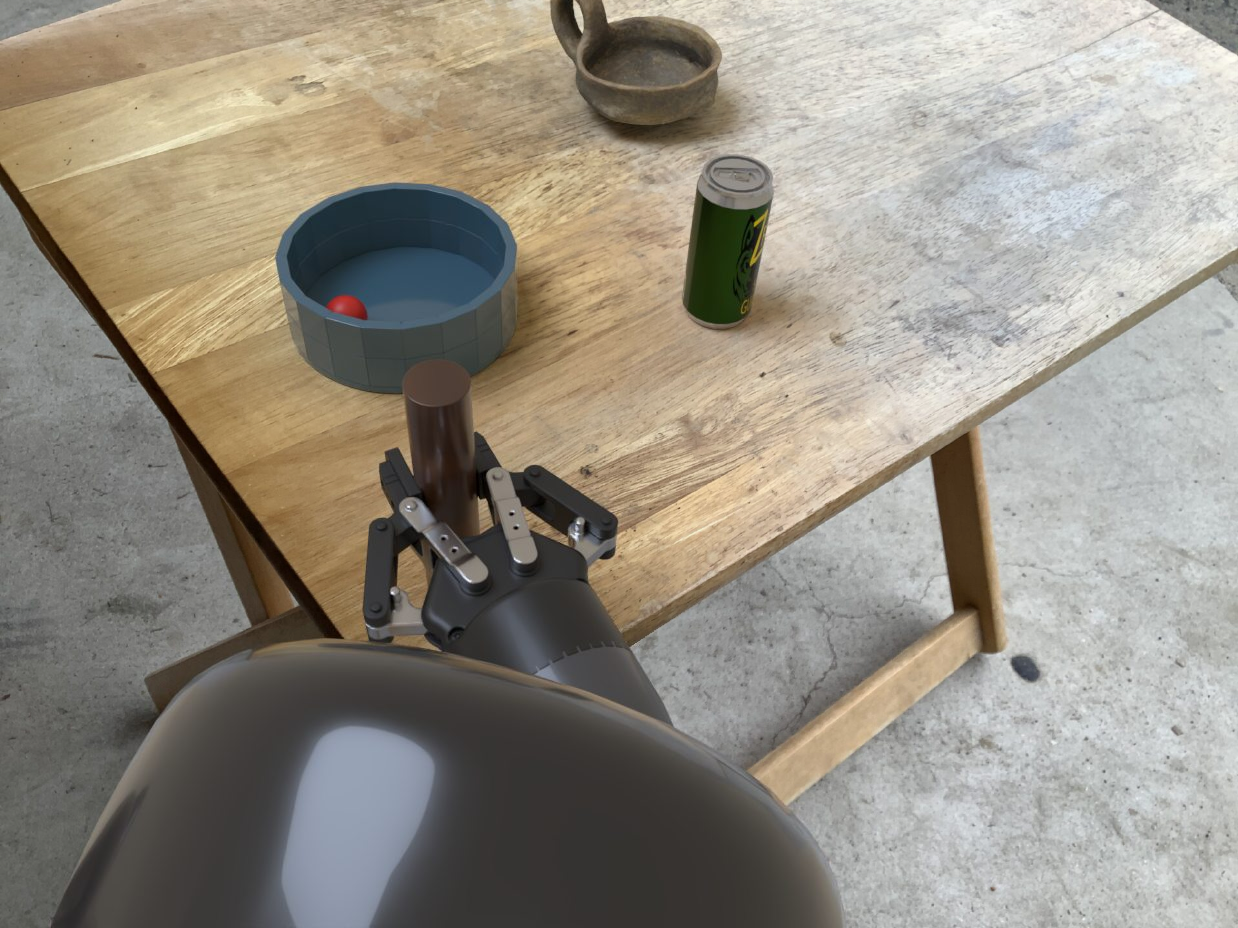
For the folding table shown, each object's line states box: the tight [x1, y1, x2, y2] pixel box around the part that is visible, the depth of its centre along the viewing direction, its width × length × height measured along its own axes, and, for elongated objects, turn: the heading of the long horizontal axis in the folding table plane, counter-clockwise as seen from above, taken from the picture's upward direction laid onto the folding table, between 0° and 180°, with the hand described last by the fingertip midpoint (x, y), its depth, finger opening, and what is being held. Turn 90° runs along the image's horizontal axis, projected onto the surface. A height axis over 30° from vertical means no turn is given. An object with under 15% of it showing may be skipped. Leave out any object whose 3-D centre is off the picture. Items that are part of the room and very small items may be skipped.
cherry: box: [326, 295, 368, 320], centre depth 78 cm, size 3×3×3 cm
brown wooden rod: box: [402, 360, 481, 588], centre depth 58 cm, size 3×3×18 cm
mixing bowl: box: [274, 181, 519, 395], centre depth 79 cm, size 17×17×6 cm
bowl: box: [549, 0, 723, 126], centre depth 99 cm, size 14×18×10 cm
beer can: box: [681, 153, 775, 330], centre depth 79 cm, size 5×5×12 cm
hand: (425, 449), depth 58 cm, fingers closed on brown wooden rod, 3 cm apart
